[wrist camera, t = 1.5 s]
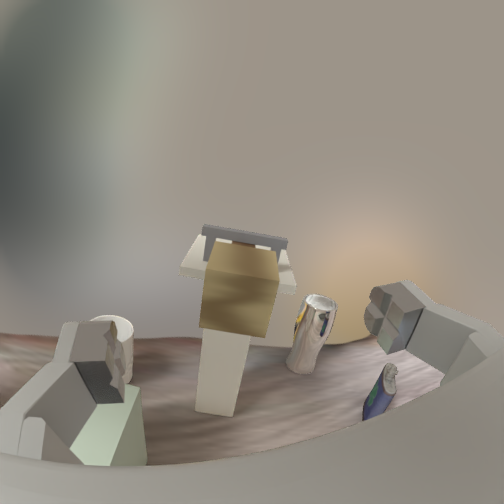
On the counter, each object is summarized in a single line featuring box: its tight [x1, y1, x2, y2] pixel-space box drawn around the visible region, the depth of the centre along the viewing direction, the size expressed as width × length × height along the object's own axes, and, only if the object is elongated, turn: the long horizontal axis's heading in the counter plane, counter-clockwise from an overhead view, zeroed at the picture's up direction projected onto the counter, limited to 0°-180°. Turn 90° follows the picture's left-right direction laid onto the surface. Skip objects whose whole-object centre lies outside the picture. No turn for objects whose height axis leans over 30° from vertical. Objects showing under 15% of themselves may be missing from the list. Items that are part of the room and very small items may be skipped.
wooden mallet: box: [199, 241, 280, 338], centre depth 27 cm, size 5×13×5 cm, turn 0°
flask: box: [363, 363, 398, 421], centre depth 45 cm, size 9×3×11 cm, turn 157°
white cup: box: [91, 315, 134, 384], centre depth 44 cm, size 8×8×10 cm
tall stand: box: [179, 224, 297, 417], centre depth 40 cm, size 12×12×30 cm
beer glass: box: [286, 294, 338, 374], centre depth 56 cm, size 7×7×15 cm
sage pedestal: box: [70, 383, 148, 466], centre depth 23 cm, size 10×13×15 cm
